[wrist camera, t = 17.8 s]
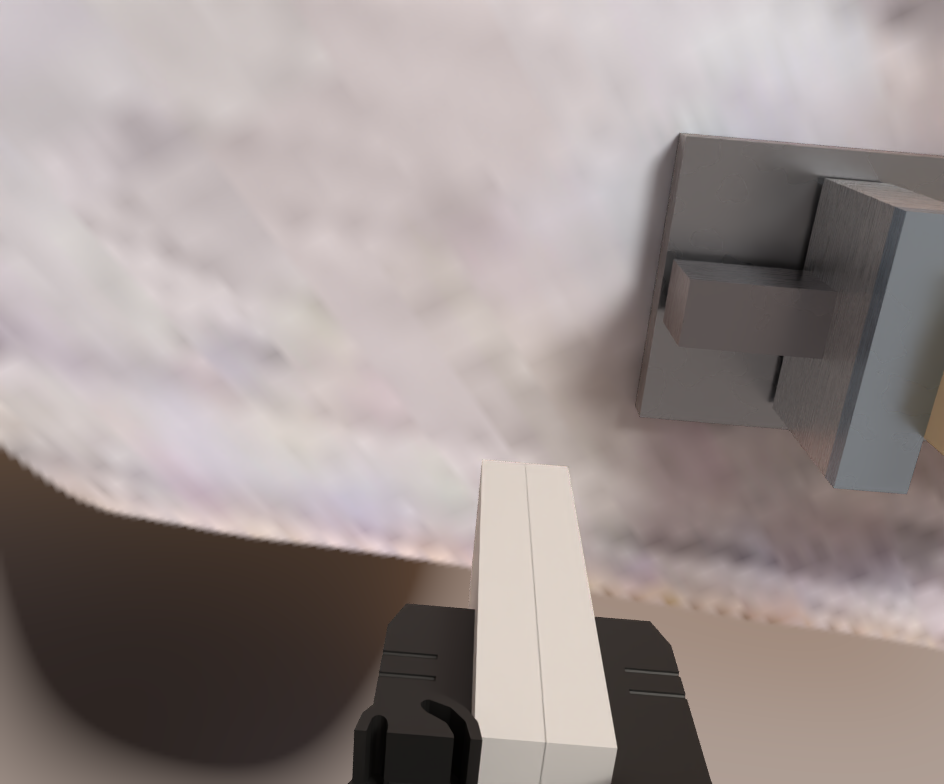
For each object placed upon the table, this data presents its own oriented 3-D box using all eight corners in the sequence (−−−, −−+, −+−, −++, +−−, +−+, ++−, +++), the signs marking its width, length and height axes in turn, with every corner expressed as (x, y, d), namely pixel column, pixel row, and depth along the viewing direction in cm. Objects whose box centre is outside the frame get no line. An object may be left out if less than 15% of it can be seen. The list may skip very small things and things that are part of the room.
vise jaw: (646, 397, 35) (681, 475, 29) (685, 165, 32) (733, 196, 25) (832, 412, 35) (906, 494, 29) (890, 183, 32) (989, 218, 25)
